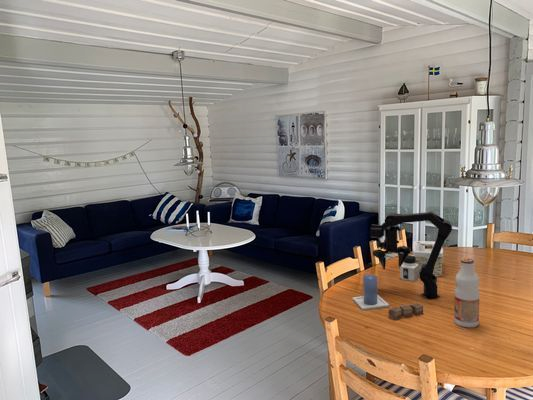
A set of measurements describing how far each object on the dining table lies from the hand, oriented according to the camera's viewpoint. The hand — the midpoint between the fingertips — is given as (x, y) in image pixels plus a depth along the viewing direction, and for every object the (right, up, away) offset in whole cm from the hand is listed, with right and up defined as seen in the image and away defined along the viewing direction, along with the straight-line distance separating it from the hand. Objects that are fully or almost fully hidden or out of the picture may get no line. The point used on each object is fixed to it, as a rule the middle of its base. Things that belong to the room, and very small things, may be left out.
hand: (391, 267), depth 209 cm
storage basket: (+31, -7, +32) cm, 45 cm away
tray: (-14, -16, -10) cm, 23 cm away
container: (+16, -9, +21) cm, 28 cm away
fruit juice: (+21, -18, -36) cm, 45 cm away
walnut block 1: (-7, -18, -27) cm, 33 cm away
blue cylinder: (-14, -15, -10) cm, 23 cm away
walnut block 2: (-1, -17, -25) cm, 31 cm away
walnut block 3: (+4, -17, -24) cm, 29 cm away
